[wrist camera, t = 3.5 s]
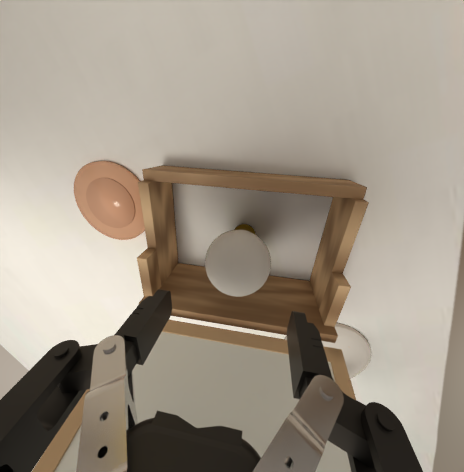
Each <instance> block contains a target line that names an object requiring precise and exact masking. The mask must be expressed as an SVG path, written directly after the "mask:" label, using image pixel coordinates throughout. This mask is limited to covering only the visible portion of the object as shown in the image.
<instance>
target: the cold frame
mask: <svg viewBox="0 0 464 472" xmlns="http://www.w3.org/2000/svg"><path fill="white" fill-rule="evenodd" d="M142 171H143V178H144V180H143V181H140V182H138V187H139V193H140V200H141V206H142V213H143V219H144V226H145V233H146V239H147V246H148V249H146V250H145V251H144V252H143V253H142V254H141V255H140V256H139V257H137V261H138V266H139V272H140V277H141V283H142V288H143V293H144V297H143V299H142V300H144V299H145V298H147V297H148V296H153V295H154V294H155V293H156V291H157V290H158V289H161V290H167V291H170V292H171V300H172V313H171V316H177V317H183V318H189V319H195V320H201V321H207V322H213V323H219V324H225V325H231V326H236V327H242V328H248V329H254V330H260V331H266V332H272V333H278V334H284V335H287V327H288V323H289V320H290V316H291V312H292V311H296V312H303V313H305V315H306V319H307V322H308V323H314V325H315V326H316V328H317V329H318V331H319V333H320V336H321V341H325V342H331V343H335V342H336V340H337V337H338V335H337V332H336V329H335V325H336V322H337V320H338V317H339V315H340V313H341V310H342V308H343V305H344V303H345V300H346V298H347V295H348V293H349V290H350V288H351V286H350V285H349V283H348V282H347V280H346V278H345V277H344V275H343V271H344V268H345V266H346V263H347V260H348V257H349V255H350V252H351V249H352V247H353V244H354V241H355V238H356V236H357V233H358V230H359V228H360V225H361V222H362V219H363V217H364V214H365V211H366V208H367V206H368V203H369V202H367V201H365V200H363V198H364V195H365V193H366V190H367V187H364V186H362V185H360V184H357V183H355V182H352V181H350V180H344V179H331V178H318V177H305V176H292V175H279V174H266V173H253V172H240V171H227V170H214V169H201V168H188V167H175V166H158V167H153V168H148V169H143V170H142ZM172 183H180V184H191V185H203V186H214V187H226V188H237V189H249V190H260V191H272V192H283V193H295V194H306V195H317V196H329V197H333V200H332V203H331V207H330V210H329V214H328V217H327V221H326V224H325V228H324V231H323V235H322V238H321V242H320V245H319V249H318V253H317V256H316V260H315V263H314V267H313V270H312V274H311V277H310V281H306V280H299V279H291V278H284V277H277V276H268V278H267V280H266V282H265V283H264V285H263V286H262V287H261V288H260V289H259V290H257V291H256V292H254V293H252V294H250V295H247V296H241V297H236V296H230V295H227V294H224V293H222V292H221V291H219V290H218V289H217V288H215V286H214V285H213V284H212V283H211V281H210V280H209V278H208V276H207V272H206V268H205V267H203V266H196V265H188V264H181V263H178V254H177V241H176V228H175V215H174V202H173V189H172ZM142 300H141V301H142ZM141 301H140V302H139V304H140V303H141Z"/></svg>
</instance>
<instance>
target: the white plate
mask: <svg viewBox="0 0 464 472" xmlns="http://www.w3.org/2000/svg"><path fill="white" fill-rule="evenodd" d="M335 329H336V332H337V335H338V337H337V340H336V342H335V343H331V342H325V341H322V343H323V346H325V347H331V348H336V349H342V352H343V356H344V359H345V363H346V366H347V370H348V373H349V377H350V379H351V378H353V377H355V376H356V375H358V374H359V373H361V372H362V371H363V370H364V369H365V368H366V367H367V365H368V363H369V362H370V359H371V349H370V346H369V344H368V342H367V340H366V339H365V337H364V336H363V335H362V334H361V333H359V332H358V331H357V330H355V329H353V328H351V327H349V326H346V325H343V324H339V323H336V325H335ZM284 340H287V336H286V337H285V339H284Z"/></svg>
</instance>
